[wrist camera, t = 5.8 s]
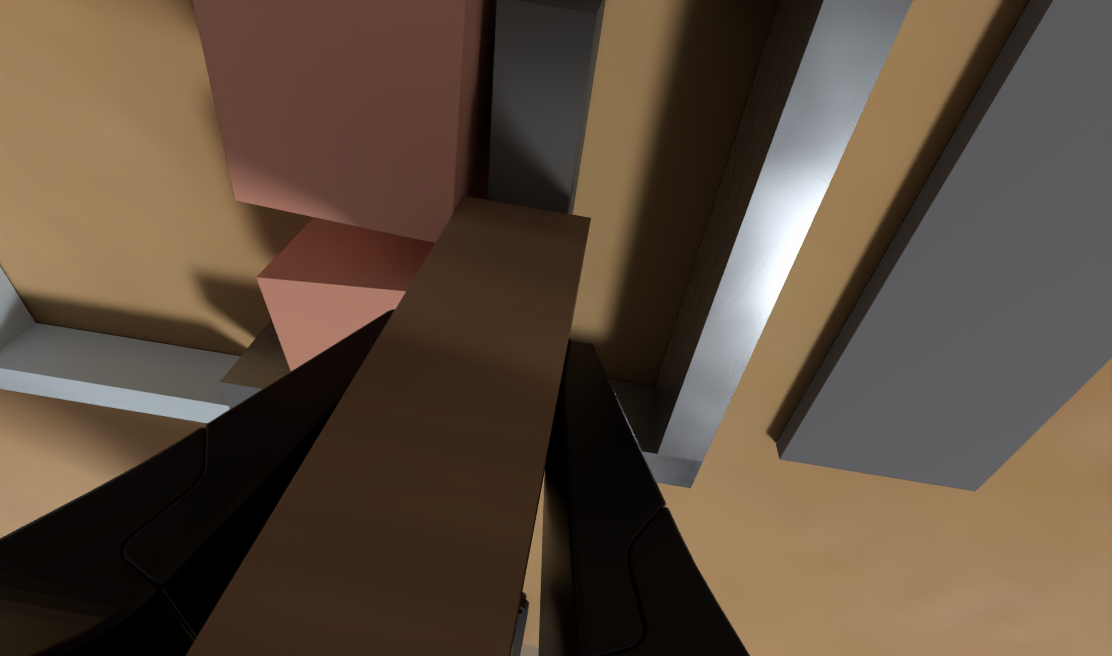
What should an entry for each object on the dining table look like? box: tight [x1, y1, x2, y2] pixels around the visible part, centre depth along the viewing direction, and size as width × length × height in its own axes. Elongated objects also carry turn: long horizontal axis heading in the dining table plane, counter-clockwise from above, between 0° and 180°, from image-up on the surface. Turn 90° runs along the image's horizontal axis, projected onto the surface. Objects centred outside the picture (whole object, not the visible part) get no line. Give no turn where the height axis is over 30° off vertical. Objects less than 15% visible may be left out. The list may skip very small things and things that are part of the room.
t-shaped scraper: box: [186, 0, 606, 656], centre depth 9 cm, size 9×2×11 cm, turn 173°
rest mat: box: [776, 0, 1112, 491], centre depth 13 cm, size 14×6×1 cm, turn 174°
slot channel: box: [220, 0, 913, 488], centre depth 12 cm, size 13×13×2 cm
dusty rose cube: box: [192, 0, 497, 243], centre depth 10 cm, size 4×4×4 cm
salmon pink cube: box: [256, 217, 435, 371], centre depth 14 cm, size 4×4×4 cm
